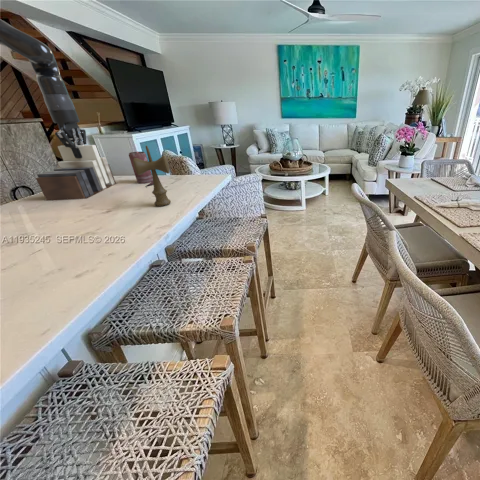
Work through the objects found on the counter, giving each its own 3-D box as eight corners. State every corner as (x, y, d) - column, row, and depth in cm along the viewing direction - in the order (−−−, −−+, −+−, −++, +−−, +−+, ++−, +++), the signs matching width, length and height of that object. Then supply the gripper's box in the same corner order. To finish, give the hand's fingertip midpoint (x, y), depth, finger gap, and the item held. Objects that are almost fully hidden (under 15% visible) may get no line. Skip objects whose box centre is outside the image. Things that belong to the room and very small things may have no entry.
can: (152, 182, 121) (143, 150, 115) (155, 185, 117) (146, 152, 110) (137, 184, 118) (126, 152, 111) (139, 187, 113) (129, 153, 107)
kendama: (177, 205, 93) (162, 145, 84) (146, 209, 90) (126, 147, 81) (178, 200, 98) (164, 143, 89) (149, 203, 95) (130, 145, 86)
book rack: (45, 204, 94) (27, 169, 89) (84, 187, 114) (71, 157, 108) (88, 202, 96) (73, 167, 91) (119, 186, 116) (109, 156, 110)
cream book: (74, 185, 107) (57, 146, 100) (77, 183, 109) (61, 145, 102) (106, 183, 109) (92, 145, 102) (109, 182, 111) (95, 144, 104)
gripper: (63, 108, 102) (82, 155, 110) (34, 108, 90) (58, 161, 97) (85, 108, 103) (101, 154, 111) (59, 108, 91) (80, 160, 98)
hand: (81, 157), depth 104 cm, fingers closed on cream book, 2 cm apart
